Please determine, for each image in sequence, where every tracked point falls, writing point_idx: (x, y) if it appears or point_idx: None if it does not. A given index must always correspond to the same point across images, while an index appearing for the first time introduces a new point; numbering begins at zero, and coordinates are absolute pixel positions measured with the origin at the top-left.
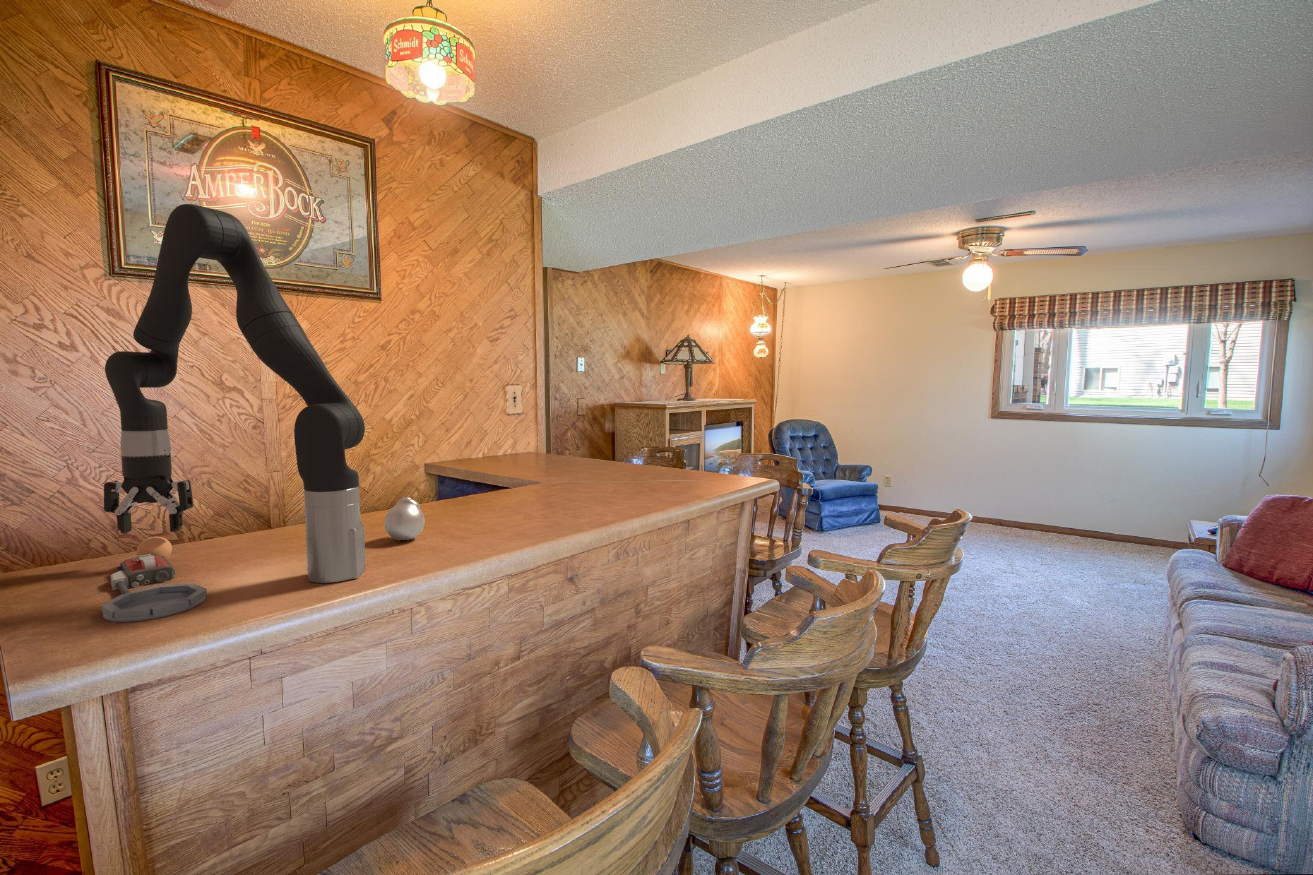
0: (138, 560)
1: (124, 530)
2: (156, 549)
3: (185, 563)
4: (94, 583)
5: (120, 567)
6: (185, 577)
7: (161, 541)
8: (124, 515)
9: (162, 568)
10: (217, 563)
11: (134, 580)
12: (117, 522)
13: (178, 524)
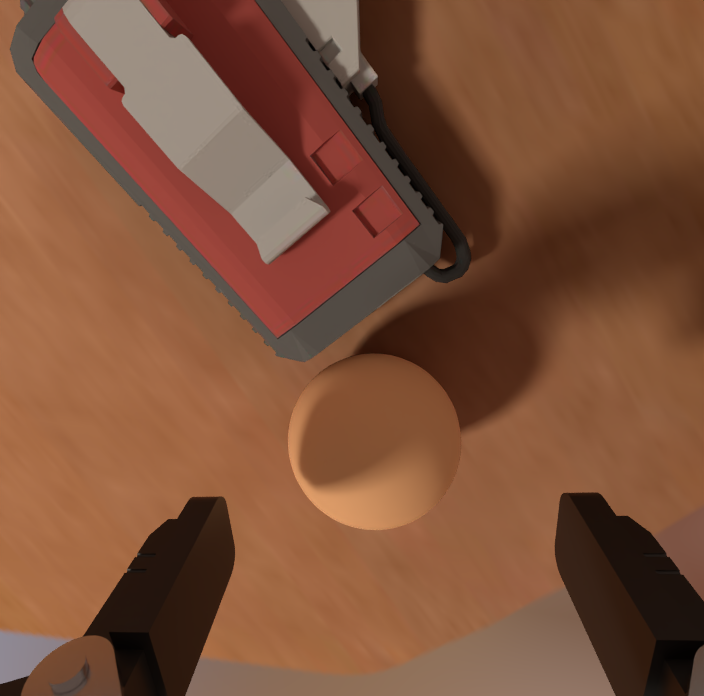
0: (270, 139)
1: (573, 503)
2: (318, 389)
3: (221, 382)
4: (484, 46)
5: (458, 256)
6: (23, 107)
7: (310, 454)
8: (650, 650)
9: (35, 7)
10: (55, 360)
11: None
12: (681, 577)
13: (141, 549)
